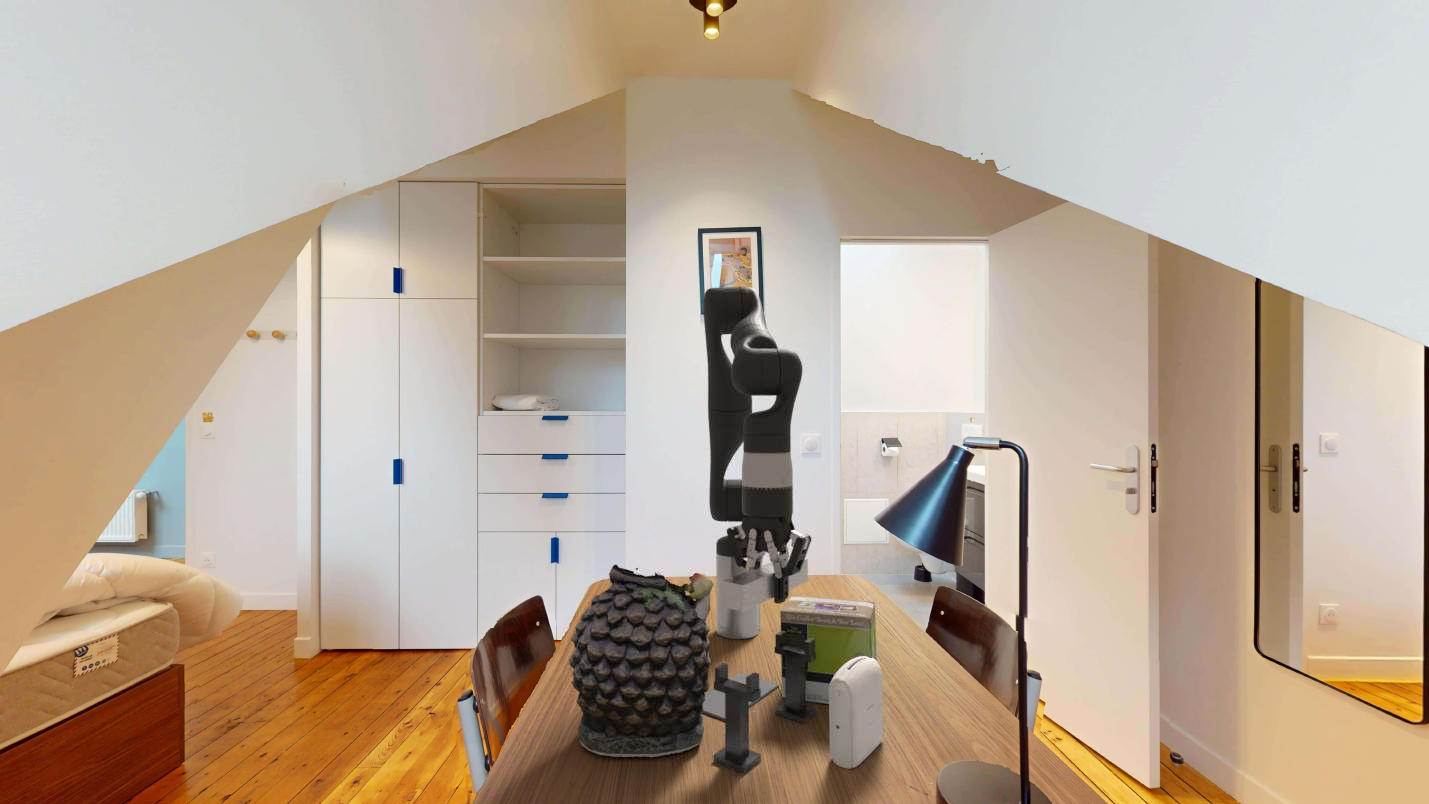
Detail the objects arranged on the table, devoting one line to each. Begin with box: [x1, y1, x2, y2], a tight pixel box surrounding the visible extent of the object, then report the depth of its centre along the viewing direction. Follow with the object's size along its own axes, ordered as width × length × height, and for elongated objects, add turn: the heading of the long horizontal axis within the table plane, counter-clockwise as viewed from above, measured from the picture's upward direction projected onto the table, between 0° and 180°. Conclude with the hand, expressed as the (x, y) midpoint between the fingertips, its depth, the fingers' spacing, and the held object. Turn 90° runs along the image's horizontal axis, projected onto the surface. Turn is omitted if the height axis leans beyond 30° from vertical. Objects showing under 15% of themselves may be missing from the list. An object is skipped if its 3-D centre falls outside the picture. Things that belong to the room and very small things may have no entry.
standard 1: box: [713, 662, 762, 775], centre depth 79 cm, size 4×6×12 cm, turn 53°
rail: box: [722, 555, 809, 612], centre depth 86 cm, size 18×4×4 cm, turn 143°
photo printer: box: [828, 656, 884, 769], centre depth 82 cm, size 10×4×12 cm, turn 140°
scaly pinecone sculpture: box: [568, 564, 714, 758], centre depth 85 cm, size 21×15×25 cm
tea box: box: [780, 595, 878, 705], centre depth 100 cm, size 15×10×15 cm, turn 71°
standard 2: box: [774, 630, 817, 725], centre depth 92 cm, size 4×6×12 cm, turn 53°
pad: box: [701, 672, 780, 722], centre depth 98 cm, size 15×8×1 cm, turn 143°
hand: (767, 598), depth 86 cm, fingers closed on rail, 3 cm apart
